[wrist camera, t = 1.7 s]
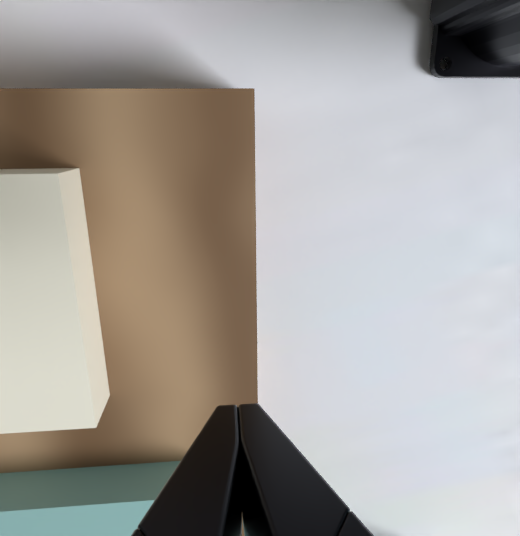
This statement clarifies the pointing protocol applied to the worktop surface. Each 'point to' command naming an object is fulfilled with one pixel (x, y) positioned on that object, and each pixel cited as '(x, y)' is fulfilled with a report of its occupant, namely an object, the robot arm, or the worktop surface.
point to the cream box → (48, 306)
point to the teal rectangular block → (80, 499)
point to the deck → (151, 259)
